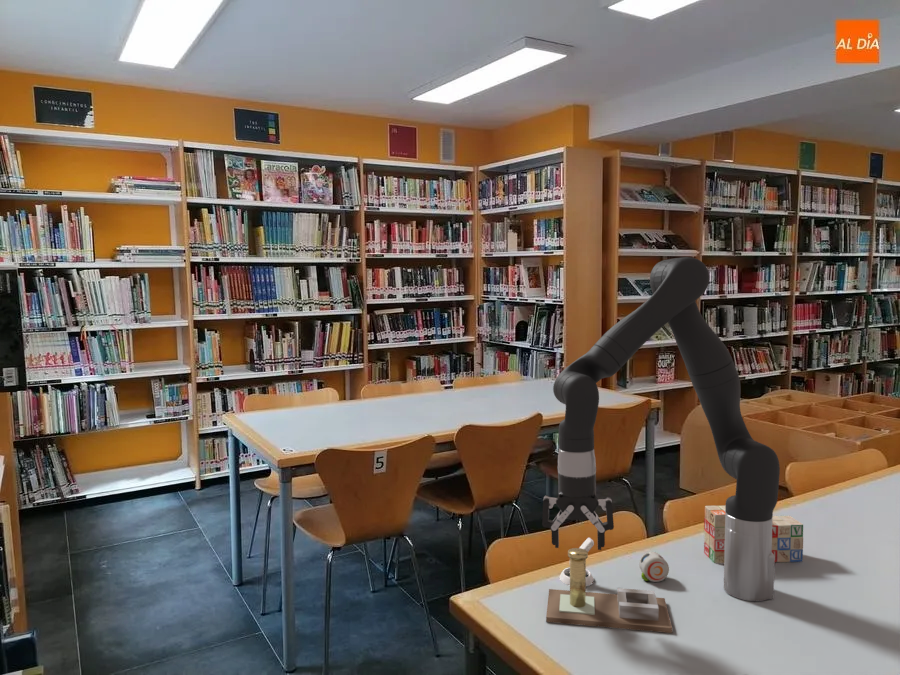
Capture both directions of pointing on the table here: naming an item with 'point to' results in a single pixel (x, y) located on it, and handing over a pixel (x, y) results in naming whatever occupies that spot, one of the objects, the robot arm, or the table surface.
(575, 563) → the brass peg
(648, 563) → the roller toy
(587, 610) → the sage pad
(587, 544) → the white vr controller
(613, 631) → the table surface
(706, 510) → the stack of blocks
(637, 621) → the walnut board
